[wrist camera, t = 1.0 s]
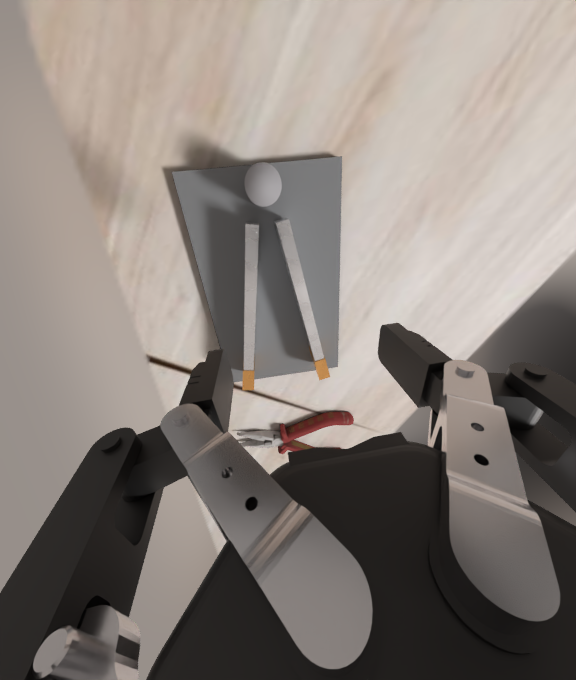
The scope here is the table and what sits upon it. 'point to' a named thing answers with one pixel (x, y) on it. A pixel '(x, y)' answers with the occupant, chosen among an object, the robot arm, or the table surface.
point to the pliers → (295, 432)
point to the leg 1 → (250, 302)
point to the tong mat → (268, 256)
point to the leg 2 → (301, 295)
